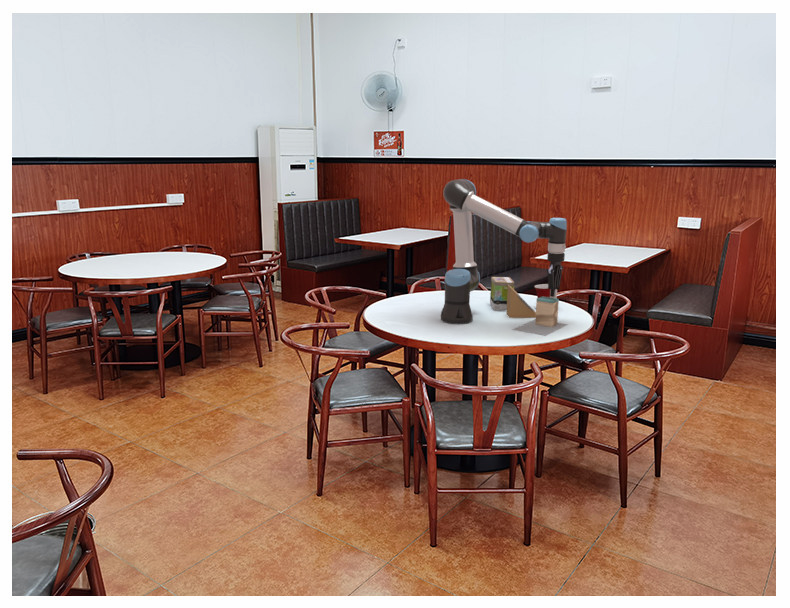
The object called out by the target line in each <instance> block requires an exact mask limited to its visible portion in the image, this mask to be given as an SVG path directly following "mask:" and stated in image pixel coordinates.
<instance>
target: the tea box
mask: <svg viewBox="0 0 790 608" xmlns="http://www.w3.org/2000/svg"><path fill="white" fill-rule="evenodd" d="M490 279H491V280H490V293H489V295H490V298H489V303H490V306H491V308H492V309H493V311H500V310H507V291H508V285H509V286H511V287H512V288H513V289H514V290H515V281H514V280H513V279H512V278H511V277H510V276H509V277H508V276H506V277H505V276H491V278H490Z"/></svg>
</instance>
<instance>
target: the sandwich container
mask: <svg viewBox="0 0 790 608" xmlns="http://www.w3.org/2000/svg"><path fill="white" fill-rule="evenodd" d="M507 315H508V316H509V317H508V316H507ZM506 316H507V317H508V318H514V319H515V318H517V319H518V318H521V319H524V318H529V319H530V318H534V319H536V310H534V309H533V308H532V306H530V305H529V304H528V303H527V302H526V301H525V300H524V298H523V297H521V295H520V294H519V293H518V292H517V291H516V290H515V288H514V289H513V288H512V287H511V286H509V285H508V291H507V311H506Z"/></svg>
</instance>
